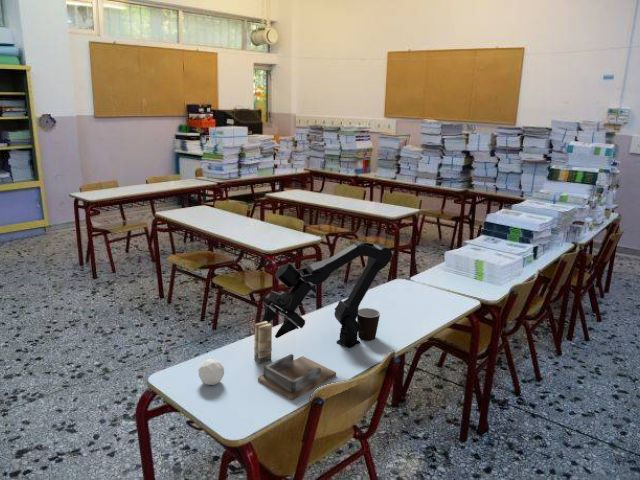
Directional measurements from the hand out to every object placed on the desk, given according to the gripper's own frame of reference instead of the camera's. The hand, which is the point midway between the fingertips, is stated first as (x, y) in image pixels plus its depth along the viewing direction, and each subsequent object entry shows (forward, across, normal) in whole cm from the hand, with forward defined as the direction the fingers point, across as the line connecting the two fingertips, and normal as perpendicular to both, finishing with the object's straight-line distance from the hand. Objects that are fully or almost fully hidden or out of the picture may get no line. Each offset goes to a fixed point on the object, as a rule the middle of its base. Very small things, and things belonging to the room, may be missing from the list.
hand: (268, 332), depth 172 cm
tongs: (+8, 0, +5) cm, 10 cm away
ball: (+23, +4, -9) cm, 25 cm away
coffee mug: (-22, +6, +35) cm, 42 cm away
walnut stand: (+6, +16, +7) cm, 19 cm away
